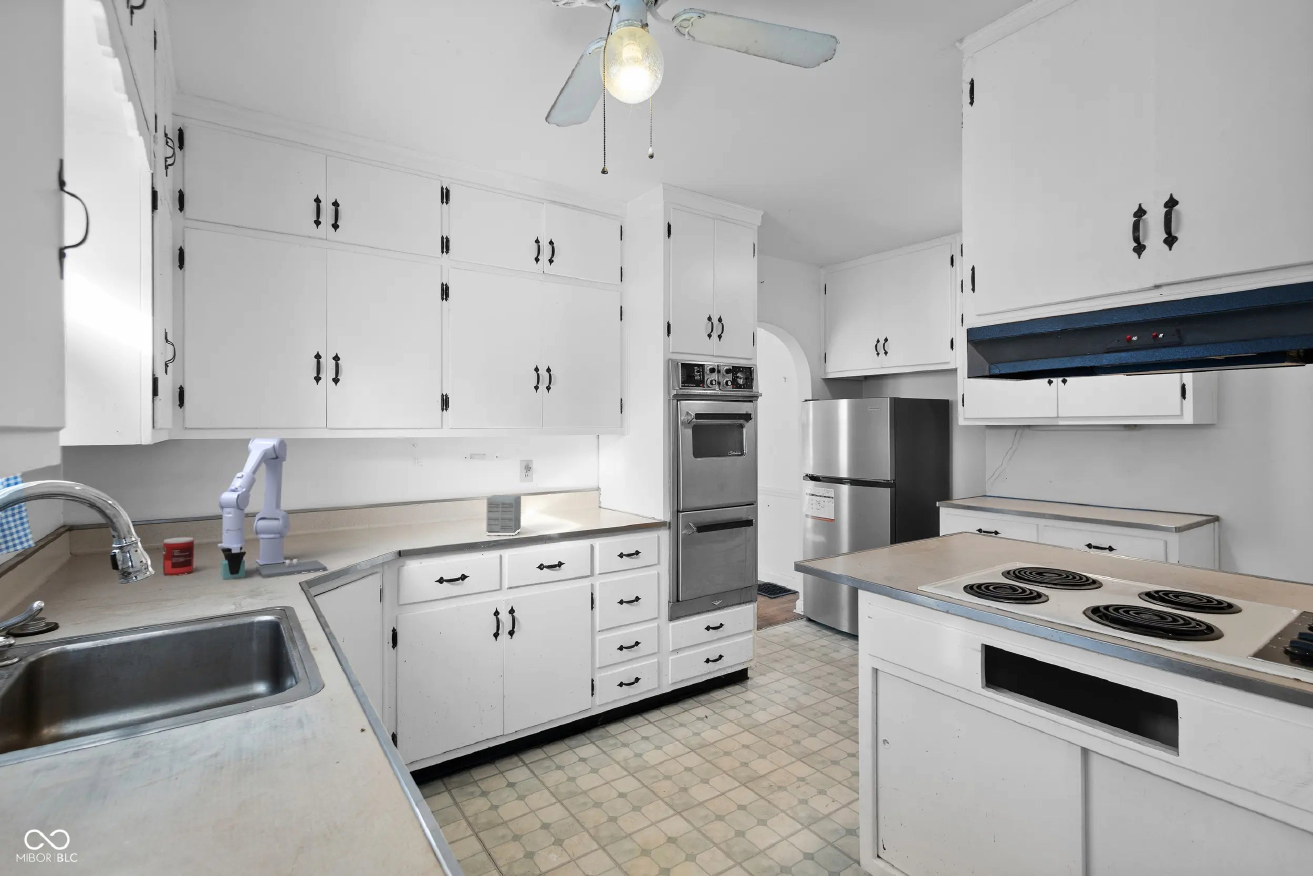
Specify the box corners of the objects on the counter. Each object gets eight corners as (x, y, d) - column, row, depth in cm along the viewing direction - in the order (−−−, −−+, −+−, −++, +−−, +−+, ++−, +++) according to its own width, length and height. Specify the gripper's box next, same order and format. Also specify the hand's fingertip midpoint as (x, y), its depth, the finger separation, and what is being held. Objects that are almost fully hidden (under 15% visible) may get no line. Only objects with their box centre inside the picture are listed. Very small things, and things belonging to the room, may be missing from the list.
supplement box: (493, 531, 292) (493, 494, 292) (521, 531, 292) (521, 495, 292) (485, 536, 279) (486, 497, 279) (514, 536, 279) (515, 497, 279)
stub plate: (256, 570, 203) (256, 559, 203) (317, 563, 215) (317, 553, 215) (262, 578, 193) (263, 566, 193) (326, 570, 204) (326, 559, 204)
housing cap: (221, 576, 194) (221, 560, 194) (242, 573, 198) (242, 558, 198) (223, 579, 190) (223, 563, 190) (244, 577, 194) (244, 561, 194)
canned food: (176, 570, 202) (176, 537, 202) (199, 571, 202) (200, 537, 202) (156, 575, 194) (156, 541, 194) (180, 576, 194) (181, 541, 194)
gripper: (215, 527, 197) (215, 569, 197) (220, 533, 186) (219, 578, 186) (242, 525, 202) (241, 567, 202) (248, 531, 191) (247, 574, 191)
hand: (233, 572), depth 194 cm, fingers open, 7 cm apart
